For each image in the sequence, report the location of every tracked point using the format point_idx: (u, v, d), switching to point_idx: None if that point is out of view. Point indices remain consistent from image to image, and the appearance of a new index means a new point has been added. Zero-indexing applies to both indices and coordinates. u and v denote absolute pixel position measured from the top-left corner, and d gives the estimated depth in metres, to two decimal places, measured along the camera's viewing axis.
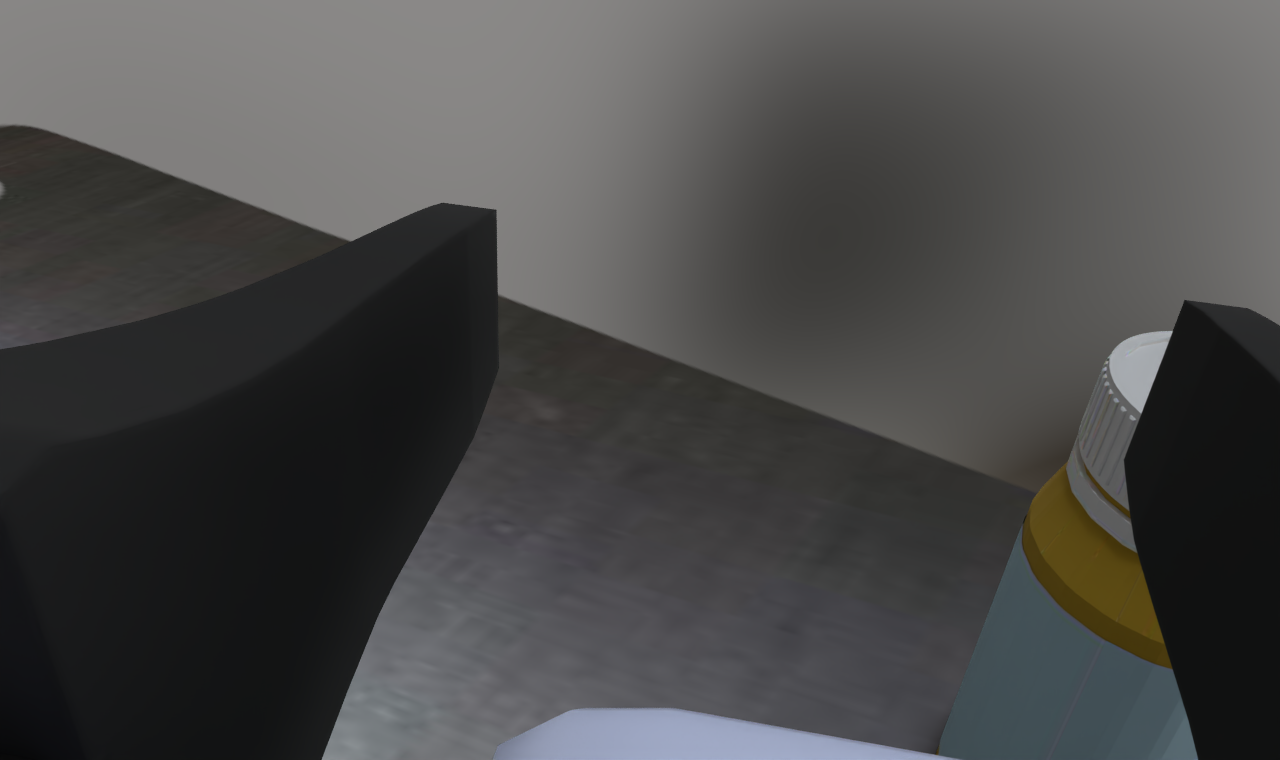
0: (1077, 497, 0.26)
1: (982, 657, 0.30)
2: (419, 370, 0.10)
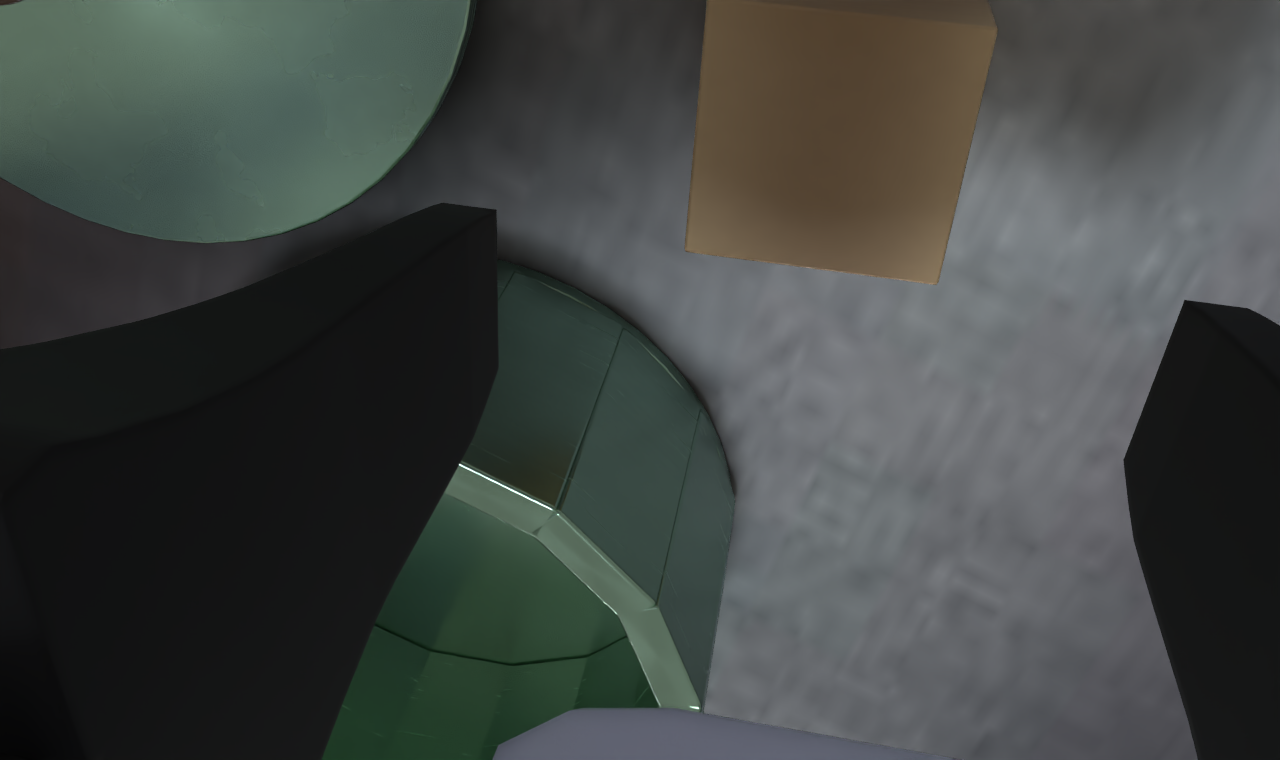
0: None
1: None
2: (419, 370, 0.10)
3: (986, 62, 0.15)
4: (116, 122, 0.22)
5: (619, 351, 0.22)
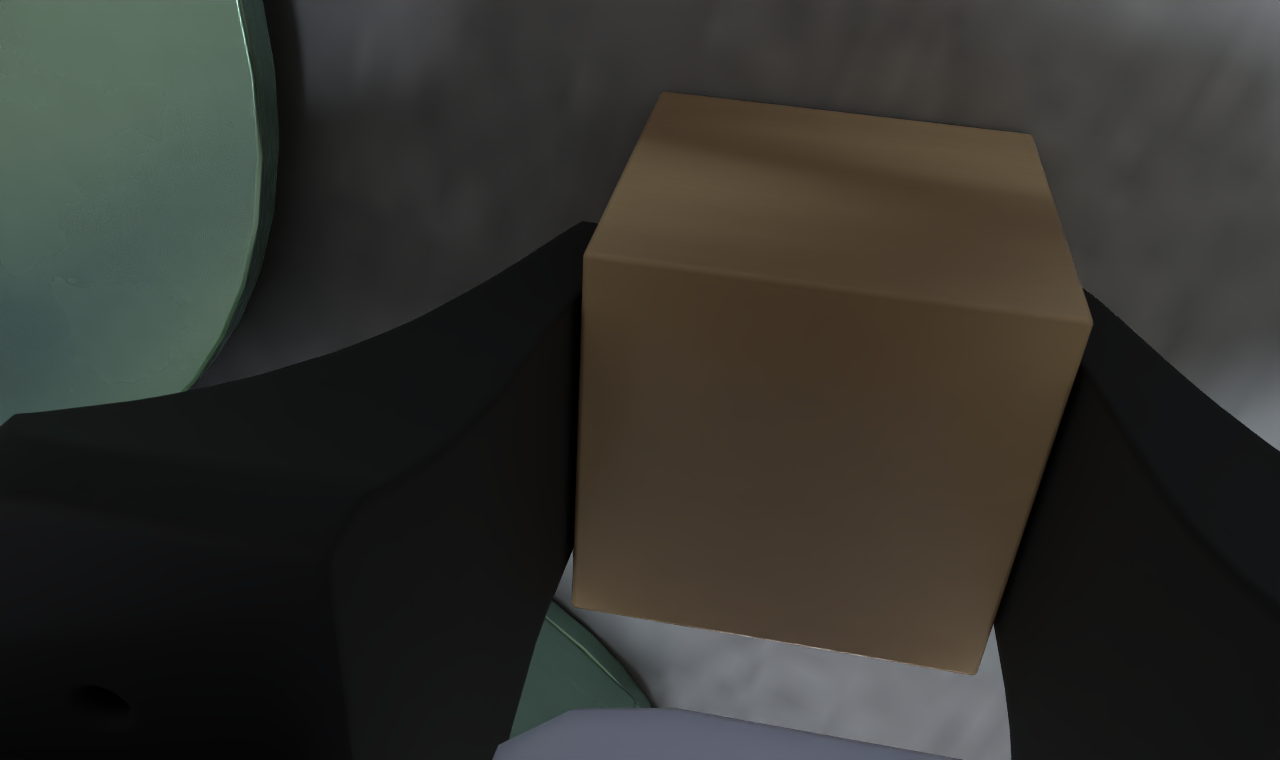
0: None
1: None
2: None
3: (1070, 373, 0.09)
4: None
5: None
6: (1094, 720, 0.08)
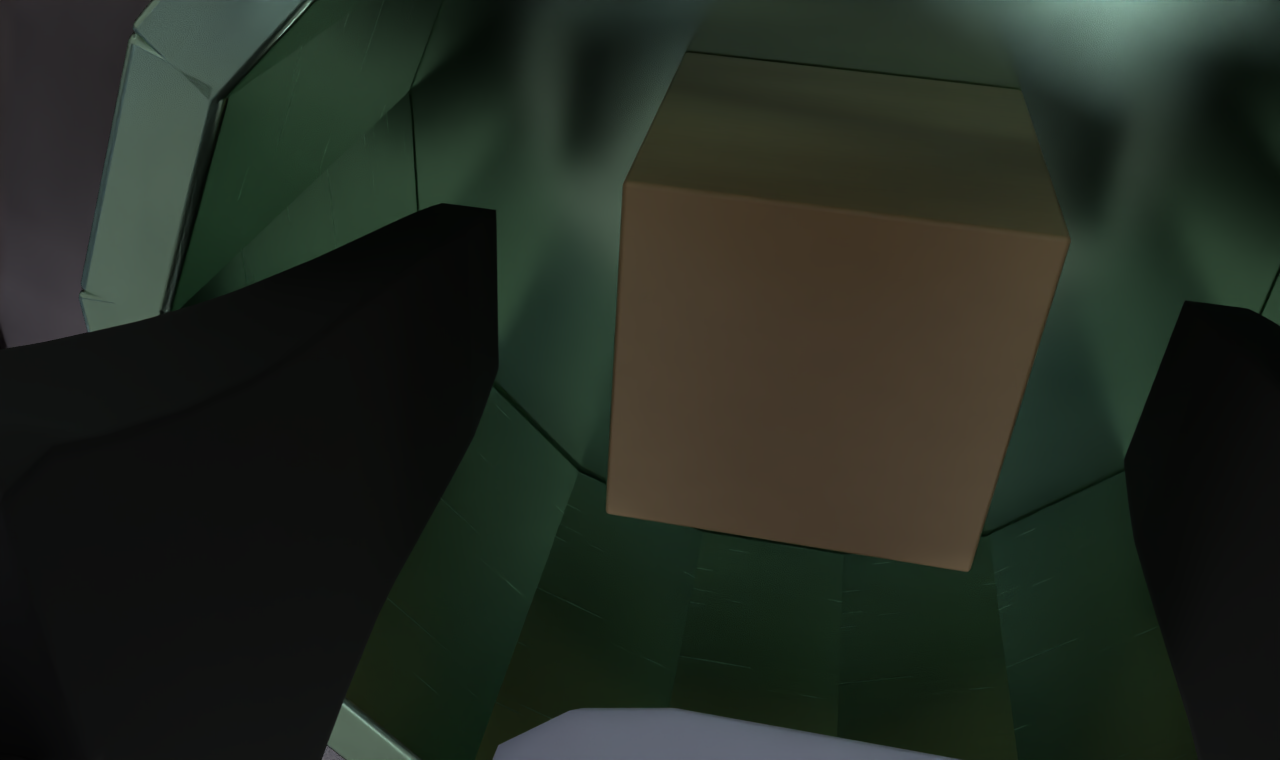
0: None
1: None
2: (419, 371, 0.10)
3: (1051, 286, 0.10)
4: None
5: None
6: None
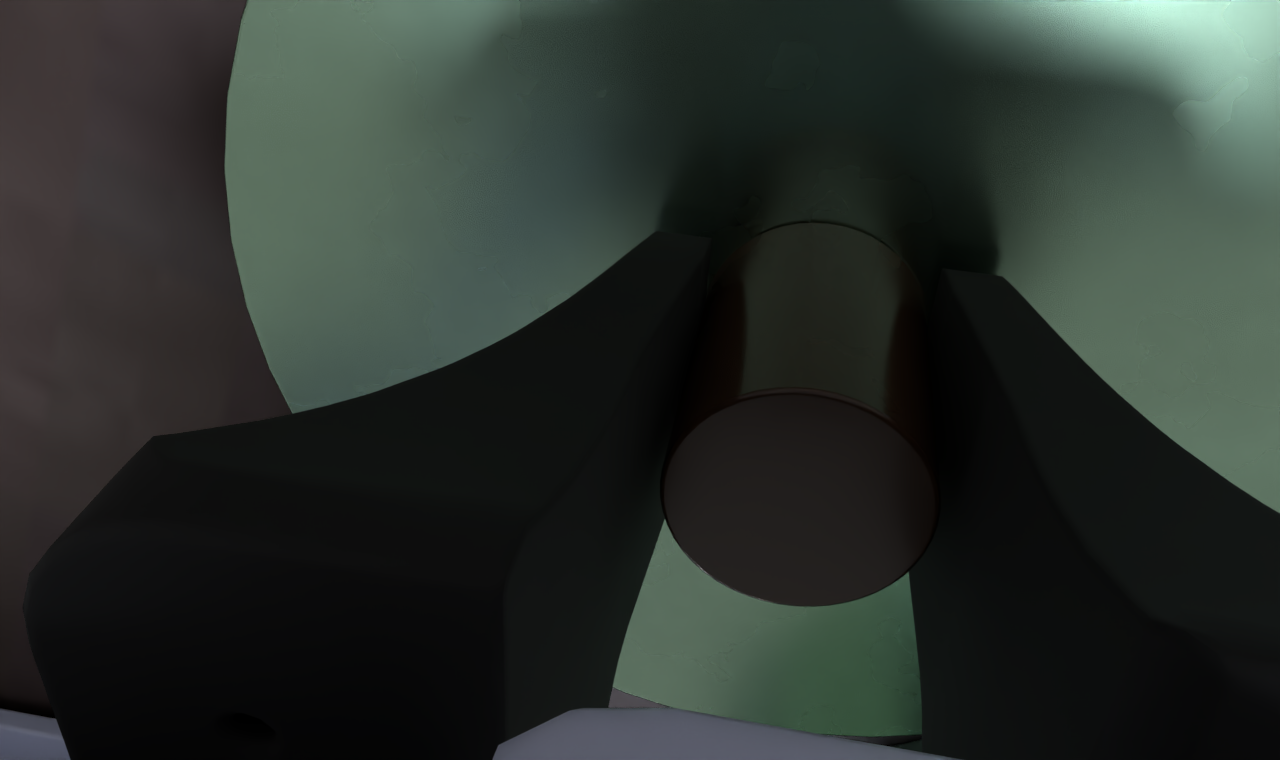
0: None
1: None
2: (665, 406, 0.10)
3: None
4: (725, 596, 0.15)
5: None
6: (980, 700, 0.08)
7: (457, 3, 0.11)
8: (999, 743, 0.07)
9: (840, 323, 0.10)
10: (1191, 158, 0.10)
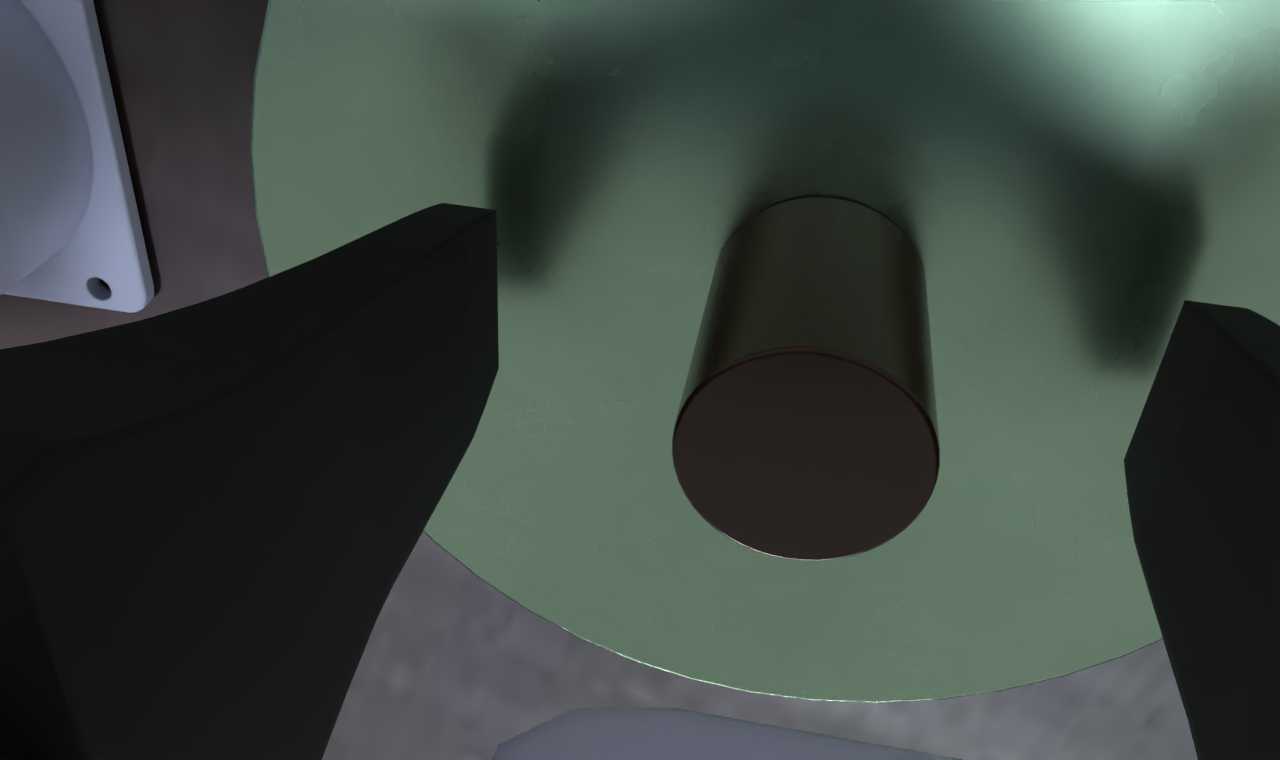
0: None
1: None
2: (421, 371, 0.10)
3: None
4: (732, 564, 0.15)
5: None
6: None
7: None
8: None
9: (844, 289, 0.10)
10: (1180, 133, 0.11)
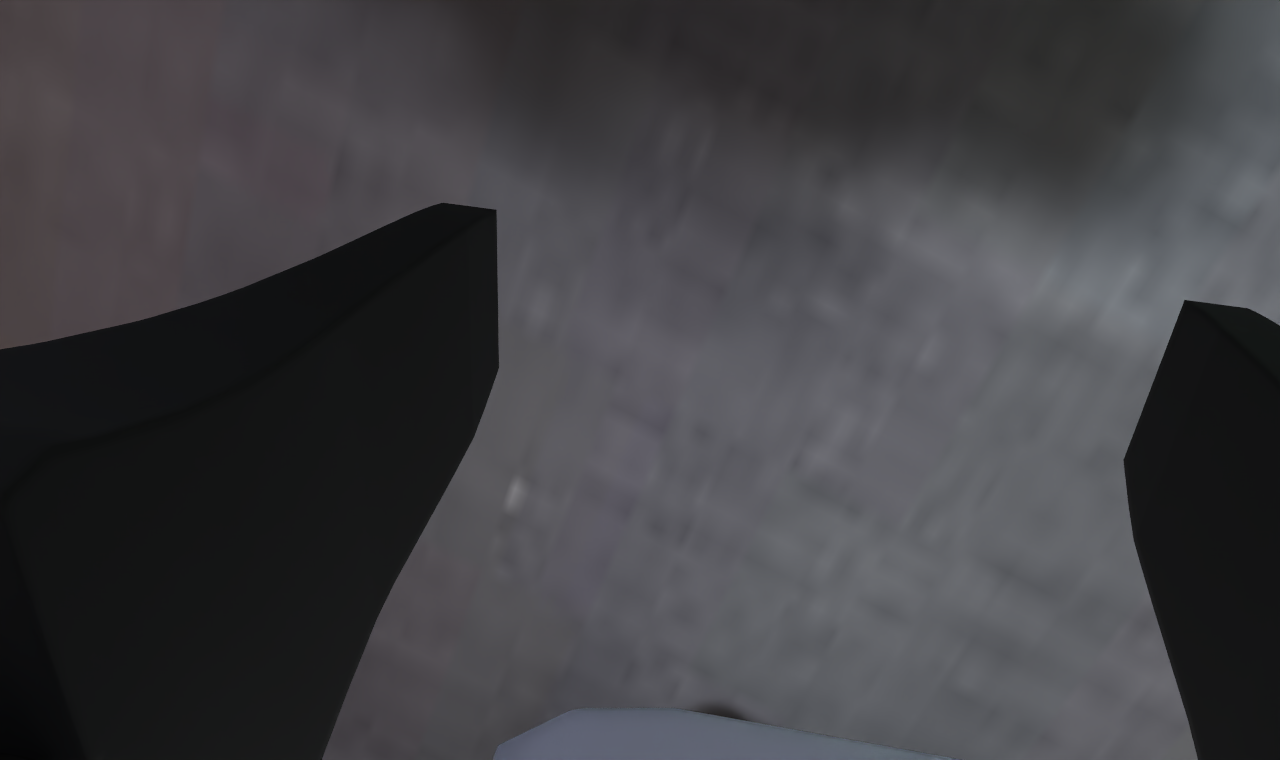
0: None
1: None
2: (419, 370, 0.10)
3: None
4: None
5: None
6: None
7: None
8: None
9: None
10: None
